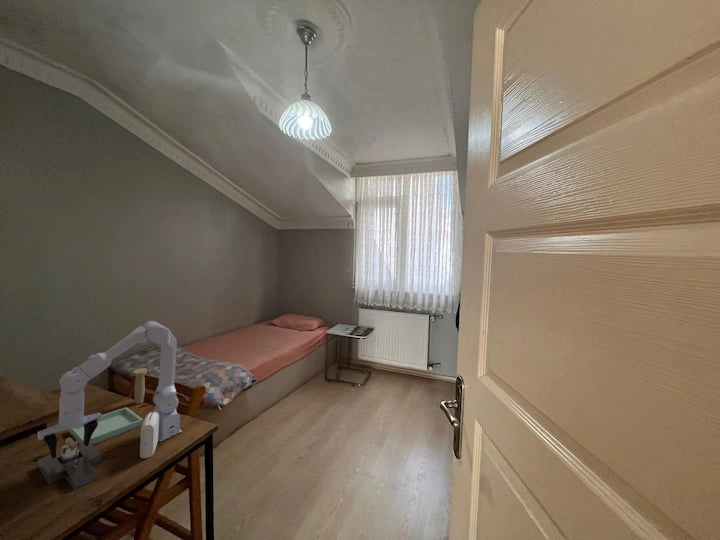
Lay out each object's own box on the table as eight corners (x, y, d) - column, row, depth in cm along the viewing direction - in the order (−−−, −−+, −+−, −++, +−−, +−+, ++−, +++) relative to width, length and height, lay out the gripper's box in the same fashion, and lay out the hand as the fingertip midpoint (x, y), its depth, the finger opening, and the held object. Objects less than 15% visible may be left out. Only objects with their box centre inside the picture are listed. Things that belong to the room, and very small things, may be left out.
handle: (146, 398, 139) (147, 367, 139) (144, 404, 134) (145, 372, 133) (133, 400, 137) (135, 368, 136) (131, 406, 131) (132, 373, 131)
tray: (142, 425, 118) (143, 419, 118) (83, 448, 102) (83, 441, 102) (126, 412, 126) (126, 407, 126) (69, 432, 111) (69, 425, 111)
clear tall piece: (81, 465, 94) (82, 441, 94) (64, 472, 91) (65, 448, 91) (75, 457, 98) (76, 435, 97) (58, 464, 94) (59, 441, 94)
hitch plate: (110, 472, 92) (110, 464, 92) (56, 497, 82) (56, 488, 82) (88, 448, 103) (88, 441, 103) (38, 467, 92) (38, 459, 92)
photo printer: (153, 457, 100) (154, 421, 100) (138, 460, 98) (139, 424, 98) (159, 440, 109) (160, 407, 109) (145, 442, 108) (146, 409, 107)
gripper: (96, 397, 102) (95, 435, 102) (35, 414, 90) (34, 457, 90) (104, 403, 98) (102, 443, 99) (41, 422, 86) (40, 467, 86)
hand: (70, 450), depth 94 cm, fingers open, 7 cm apart
